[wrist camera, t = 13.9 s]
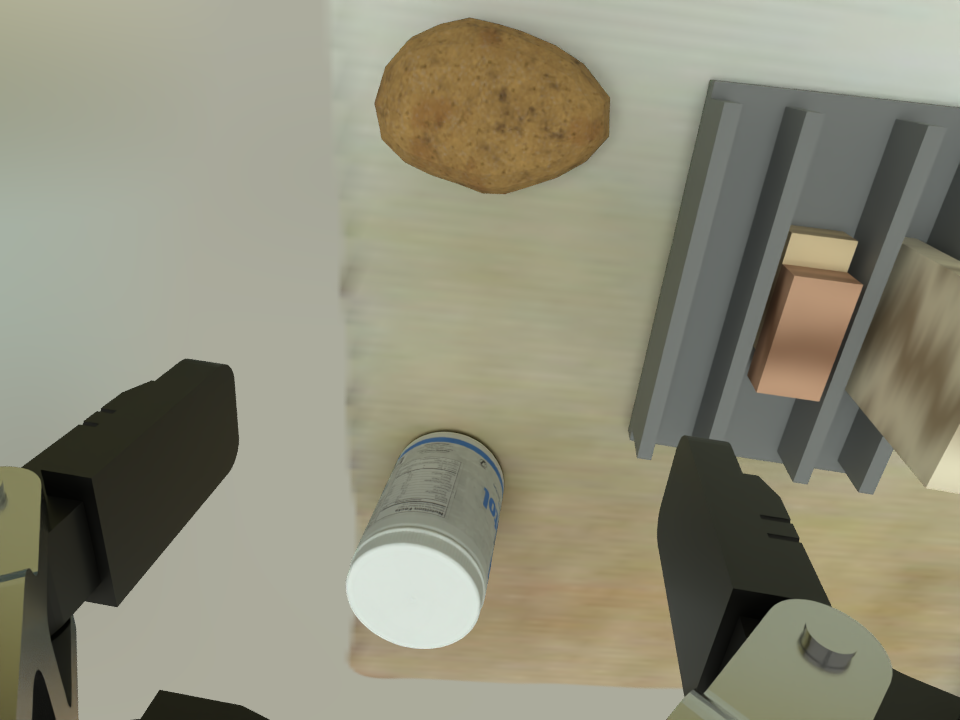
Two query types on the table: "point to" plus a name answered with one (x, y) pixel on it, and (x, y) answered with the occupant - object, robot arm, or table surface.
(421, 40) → the potato
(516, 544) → the table surface
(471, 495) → the supplement tub
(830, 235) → the offcut lower
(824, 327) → the offcut upper
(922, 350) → the sheet
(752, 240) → the rack
